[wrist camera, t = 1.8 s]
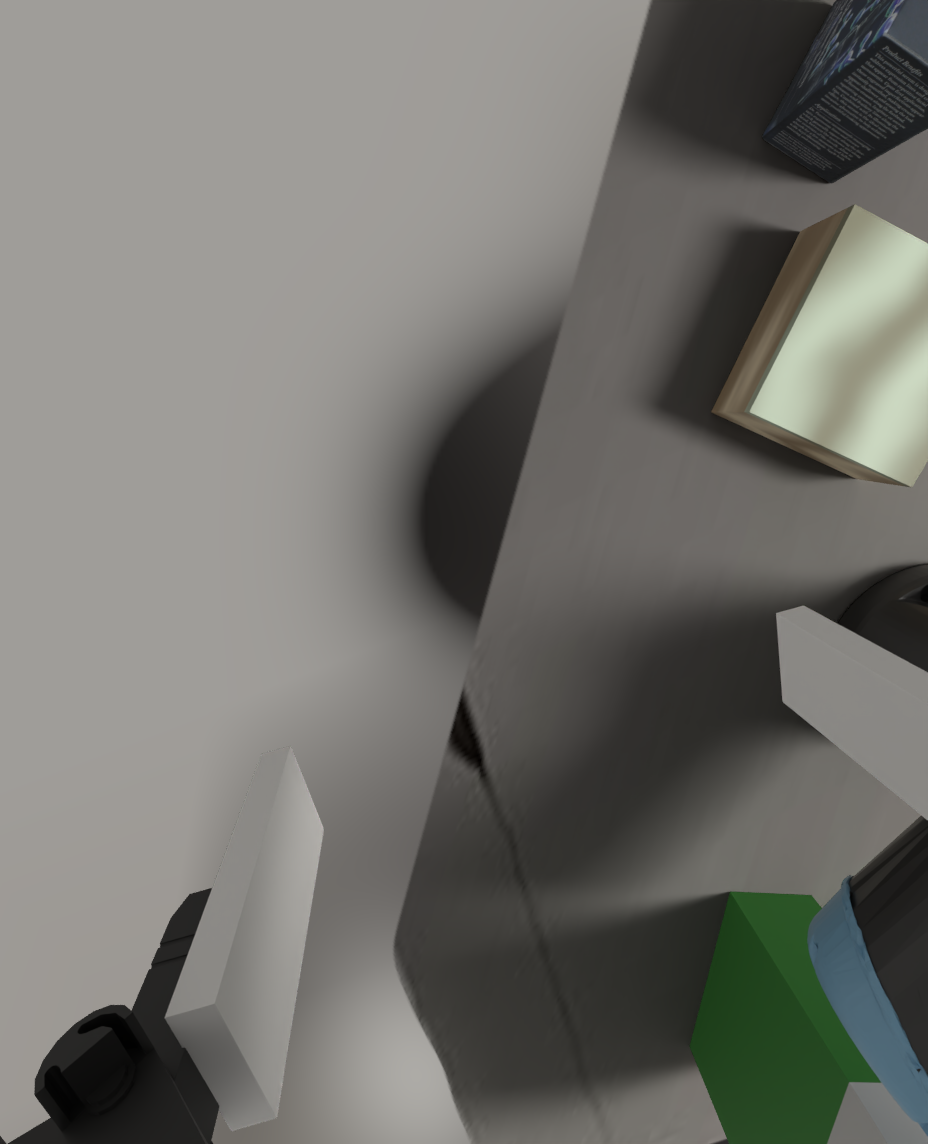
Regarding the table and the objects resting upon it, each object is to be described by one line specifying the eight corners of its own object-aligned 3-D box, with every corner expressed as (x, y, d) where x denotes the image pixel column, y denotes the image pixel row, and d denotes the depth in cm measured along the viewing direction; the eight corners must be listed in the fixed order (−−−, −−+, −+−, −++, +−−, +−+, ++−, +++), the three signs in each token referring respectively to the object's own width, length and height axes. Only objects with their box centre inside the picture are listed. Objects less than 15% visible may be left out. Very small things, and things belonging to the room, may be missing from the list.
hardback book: (764, 1048, 56) (1001, 1498, 33) (689, 1046, 55) (875, 1503, 32) (811, 895, 51) (1123, 1291, 28) (730, 891, 51) (980, 1292, 28)
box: (830, 2, 34) (999, -173, 24) (905, 56, 35) (1098, -90, 25) (756, 140, 36) (885, 31, 26) (830, 188, 37) (982, 102, 27)
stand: (951, 310, 39) (1024, 296, 34) (856, 478, 42) (912, 487, 37) (800, 231, 37) (854, 204, 32) (710, 412, 40) (749, 411, 35)
